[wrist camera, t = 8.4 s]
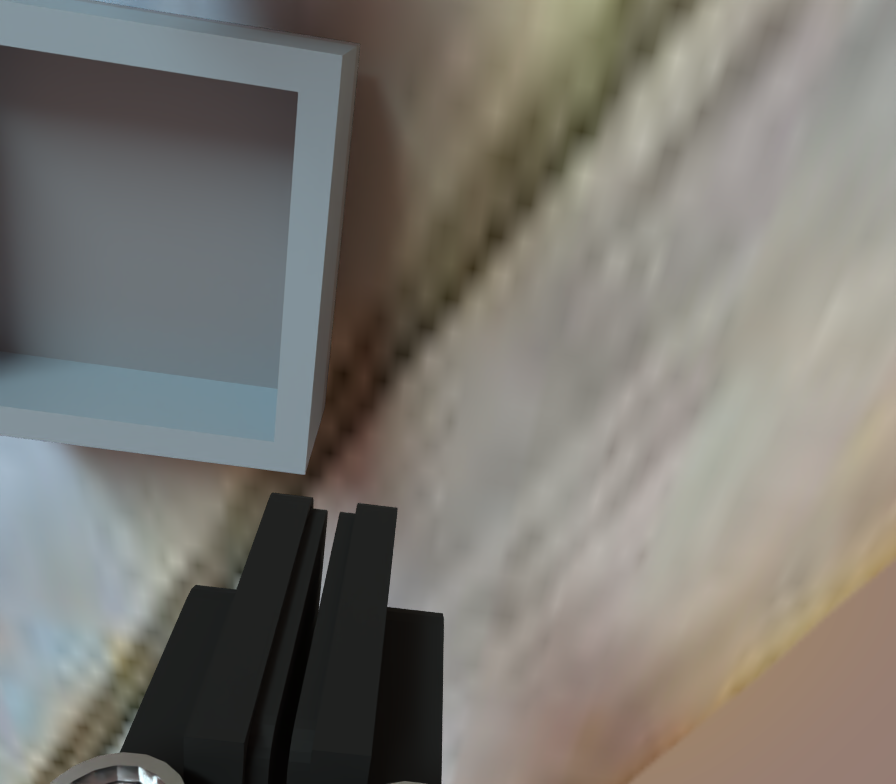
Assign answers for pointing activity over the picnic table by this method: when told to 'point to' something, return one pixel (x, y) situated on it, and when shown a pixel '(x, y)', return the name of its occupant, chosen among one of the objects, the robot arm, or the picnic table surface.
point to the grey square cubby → (169, 230)
